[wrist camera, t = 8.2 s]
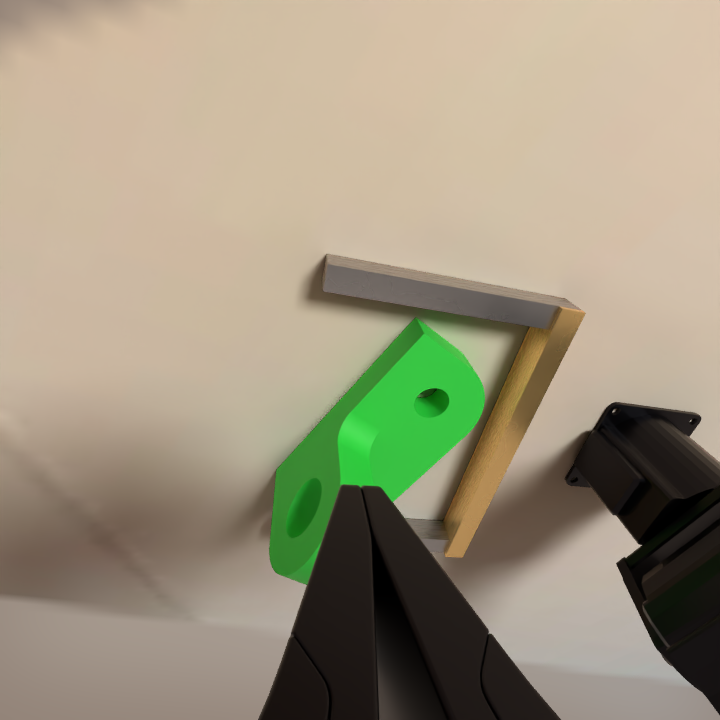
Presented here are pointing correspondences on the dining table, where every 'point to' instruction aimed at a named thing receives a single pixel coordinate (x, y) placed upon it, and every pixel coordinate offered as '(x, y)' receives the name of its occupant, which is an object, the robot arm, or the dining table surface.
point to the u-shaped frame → (520, 391)
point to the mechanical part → (374, 440)
